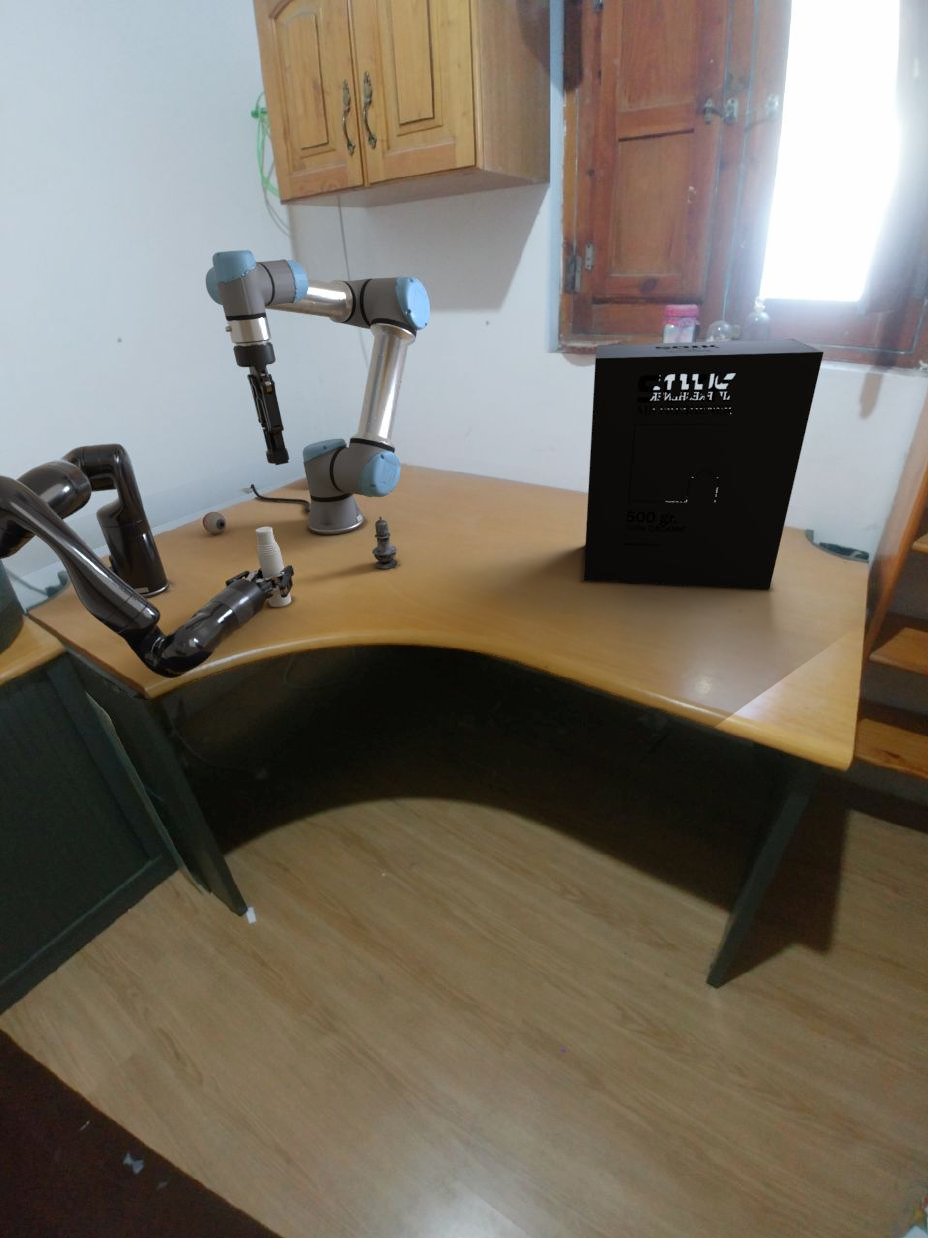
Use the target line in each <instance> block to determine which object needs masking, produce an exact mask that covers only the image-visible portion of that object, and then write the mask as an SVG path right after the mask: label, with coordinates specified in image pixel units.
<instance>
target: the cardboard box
mask: <svg viewBox="0 0 928 1238" xmlns="http://www.w3.org/2000/svg"><path fill="white" fill-rule="evenodd" d="M823 356H824V351H822V350H820V349H817V348H816V347H813V346H810V345H808V344H806V343H803V342H801V341H799V340H796V339H793V338H783V339H782V338H781V339H779V338H777V339H752V340H750V339H749V340H747V339H746V340H723V341H722V340H720V341H719V340H718V341H689V342H687V341H685V342H660V343H659V342H657V343H629V344H628V343H627V344H622V343H621V344H597V346H596V352H595V358H594V359H595V360H594V379H593V395H592V412H591V413H592V417H591V433H590V452H589V453H590V454H589V470H588V471H589V472H588V491H587V507H586V508H587V510H586V527H585V529H586V530H585V531H586V532H585V547H584V563H583V565H584V566H583V582H597V583H598V582H599V583H600V582H601V583H620V584H621V583H622V584H643V585H644V584H645V585H666V586H667V585H669V586H687V587H711V588H729V589H730V588H734V589H753V590H754V589H755V590H771V585H772V580H773V575H774V571H775V567H776V563H777V558H778V554H779V550H780V547H781V540H782V535H783V534H784V533H783V532H784V527H785V523H786V519H787V516H788V515H787V514H788V512H789V511H788V510H789V507H790V501H791V498H792V493H793V488H794V483H795V480H796V475H797V471H798V467H799V462H800V457H801V453H802V449H803V445H804V440H805V437H806V436H805V435H806V431H807V427H808V423H809V417H810V413H811V410H812V404H813V401H814V396H815V392H816V388H817V384H818V379H819V375H820V369H821V366H822V362H823ZM730 374H734V375H733V377H732V378H729V379H728V378H726V377H727V376H728V375H730ZM672 375H674V379H672V380H671V383H670V389H668V384H669V379H667V377H668V376H672ZM682 375H686V380H685V385H688V387H687V388H684V389H682V388H683V380H682V379H681V376H682ZM694 375H697V380H696V379H693V378H694ZM712 375H713V381H712V385H711V387H710V383H711V376H712ZM725 378H726V379H725ZM716 381H717V382H716ZM696 383H697V385H702V386H701V388H698V389H697V388H696ZM716 385H717V386H718V385H719V386H721V385H726V387H725V388H717V386H716ZM656 387H658V388H659V389H655V388H656Z"/></svg>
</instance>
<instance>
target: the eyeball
mask: <svg viewBox="0 0 928 1238" xmlns="http://www.w3.org/2000/svg"><path fill="white" fill-rule="evenodd" d="M202 526H203V528H204V530H206V531H207V532H208V533H209V534H214V535H215V534H220V533H223V531H224V530H225V529H226V527H227V519H226V518H225V516H224V515H223V514H222V513H220V512H218V511H210V512H208V513H206V514H205V515H204V516H203V519H202Z"/></svg>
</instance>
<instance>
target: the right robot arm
mask: <svg viewBox="0 0 928 1238" xmlns="http://www.w3.org/2000/svg"><path fill="white" fill-rule="evenodd" d="M211 260H212V266H211V268H210V269H208V271H207V272H206V275H205V288H206V291H207V294H208V295H209V297H210V299H212V301H213V302H214V303H216V304H218V305H219V306H222V309H223V312H224V317H225V320H226V324H227V326H225V328H224V329H225V332H226V333H229V336H230V341H231V343H233V344H235V345H234V346H233V348H232V349H233V353H234V358H235V362H236V365H237V366H238V367H240V368H248V369H249V374H247V375H246V376H247V377H246V378H247V380H248V383H249V386H250V390H251V395H252V399H253V403H254V407H255V411H256V415H257V418H258V419H257V421H258V423H259V424H260V426H261V428H262V432H263V437H264V442H265V445H266V451H267V450H270V449H272V453H273V457H274V461H275V464H274V465H275V466H281V465H285V464H289V463H290V462H289V460H288V457H287V453H286V448H287V447H286V444H285V440H284V435H283V432H284V430H285V427H284V424H283V420H282V415H281V411H280V410H281V409H280V407H279V406H280V405H279V401H278V396H277V391H276V390H277V389H276V383H275V381H274V380H273V376H272V374H271V373H269V371H268V368H267V366H268V365H273V364H274V363H275V362H276V359H277V358H276V355H275V349H274V345H273V343H272V342H270V341H269V340H271V339H272V335H271V329H270V325H269V320H268V316H267V313H266V310H272V311H279V312H286V313H287V312H288V313H294V314H302V315H309V316H317V317H325V318H328V319H329V320H330V321H332V322H333V323H337V324H343V325H347V326H348V325H349V326H353V327H357V328H361V329H366V330H370V331H369V332H370V333H371V334H372V336H373V337H374V339H373V345H372V350H371V354H370V360H369V366H368V371H367V378H366V383H365V387H364V393H363V394H364V395H363V399H362V406H361V411H360V417H359V421H358V426H357V427H358V428H357V432H356V433H355V434H354V435H352V436H350V438H349V444H348V443H347V442H346V440H345V439H344V438H331V439H326V440H320V441H317V442H313V443H309V444H308V445H306V446H305V447H304V448H303V450H302V457H303V458H302V460H303V462H302V463H303V467H304V473H305V477H306V482H307V487H308V492H309V498H310V501H308V500H306V499H301V498H285V497H268V496H267V497H266V496H263V495H261V494H260V493H259V492H258V491H257V489H256V486H255V484H254V483H252V484H251V485H250V489H252V492H253V494H255V496H256V497H257V498H258V499H260V500H264V501H269V502H271V501H272V502H288V503H301V504H302V503H303V504H306V505H305V511H306V512H307V513H308V528H309V529H308V530H310V531H311V532H312V533H314V534H317V535H323V536H324V535H325V536H327V535H329V536H331V535H339V534H340V535H341V534H345V533H350V532H353V531H355V530H357V529H359V528H361V527H362V526H363V525H364V523H365V519H364V514H363V512H362V510H361V508H360V505H359V504H358V501H357V500H356V498H355V495H358V496H364V497H366V498H383V497H386V496H388V495H389V494H390V493H391V492H393V491H394V489H395V488H396V487H397V484H398V482H399V480H400V477H401V471H402V469H401V465H400V463H401V462H400V459H399V457H398V456H397V454H395V452H396V447H395V445H394V444H393V442H392V435H393V430H394V424H395V419H396V415H397V414H396V413H397V408H398V403H399V398H400V393H401V387H402V382H403V376H404V372H405V371H404V370H405V365H406V360H407V355H408V350H409V347H410V346H411V345H413V344H414V343H415V342H416V339H417V334H418V331H421V330H423V329H425V328H426V327H427V326H428V324H429V322H430V318H431V305H430V298H429V296H428V293H427V290H426V288H425V286H424V284H422V282H421V281H420V280H419V279H417V278H416V277H413V276H403V275H399V276H396V277H381V278H380V277H377V278H376V277H375V278H363V279H354V280H341V279H333V280H331V281H330V282H327V281H322V280H316V279H311V278H308V275H307V272H306V270H305V268H304V267H303V266H302V264H300V263H299V262H298V261H297V260H294V259H279V260H278V259H277V260H268V261H267V260H266V261H256V260H255V257H254V253H253V252H252V251H251V250H249V249H246V250H245V249H241V250H227V251H217V252H215V253H214V254H213V255H212V259H211Z"/></svg>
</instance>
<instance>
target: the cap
mask: <svg viewBox="0 0 928 1238" xmlns="http://www.w3.org/2000/svg"><path fill="white" fill-rule="evenodd" d="M285 448H286V453H287V457H288V461H289V460H290V455H289V450H288V449H287V447H285ZM265 456H266V460H267V463H268V464H272V465H275V461H274V457H273V453H272V449H270V450H267V449H266V451H265Z"/></svg>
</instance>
